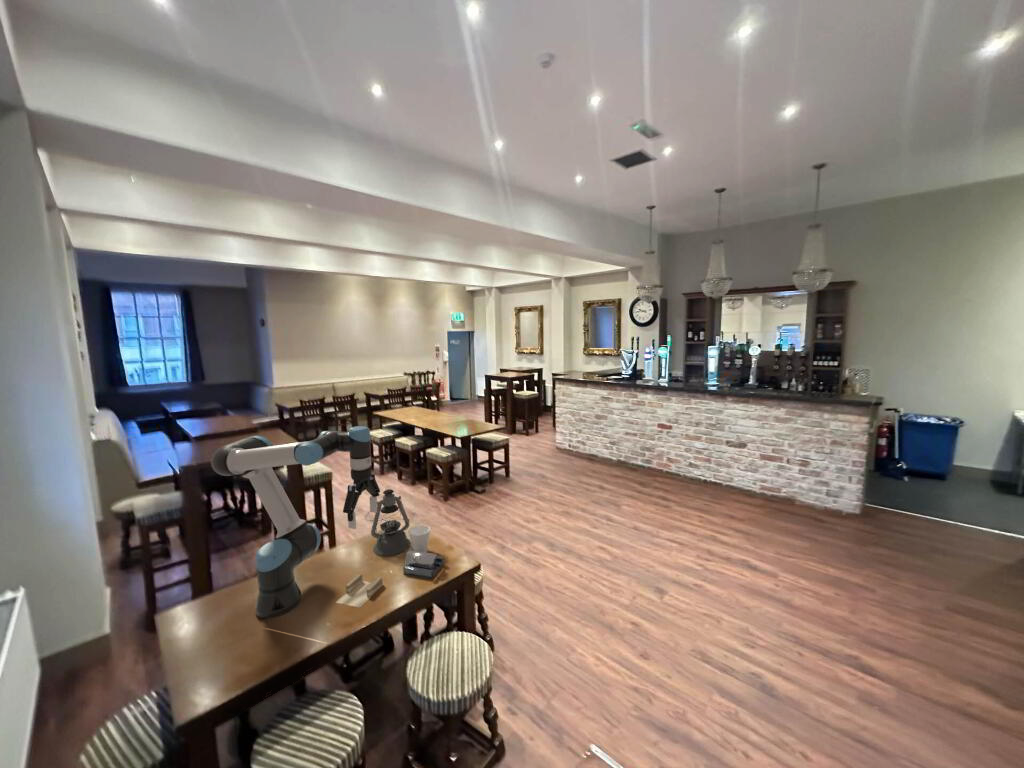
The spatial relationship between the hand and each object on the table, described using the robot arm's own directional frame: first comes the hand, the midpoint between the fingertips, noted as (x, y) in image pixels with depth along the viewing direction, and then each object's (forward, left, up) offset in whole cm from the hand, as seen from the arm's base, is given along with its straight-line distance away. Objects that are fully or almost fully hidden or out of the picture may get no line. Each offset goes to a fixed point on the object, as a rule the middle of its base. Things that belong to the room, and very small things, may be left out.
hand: (363, 519), depth 157 cm
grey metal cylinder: (+14, +17, -28) cm, 35 cm away
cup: (+7, +29, -29) cm, 42 cm away
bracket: (-1, -4, -29) cm, 29 cm away
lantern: (-10, +31, -29) cm, 44 cm away
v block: (+15, +17, -29) cm, 37 cm away
